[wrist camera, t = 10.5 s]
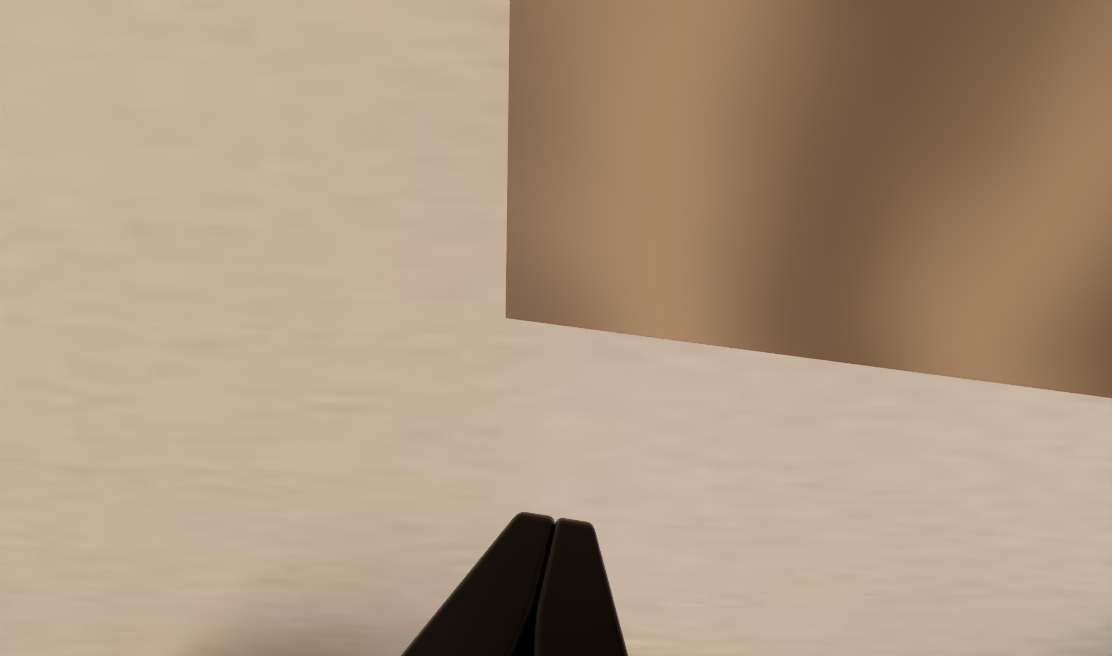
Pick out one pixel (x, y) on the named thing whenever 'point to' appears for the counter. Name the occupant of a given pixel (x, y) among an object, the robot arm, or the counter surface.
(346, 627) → the counter surface
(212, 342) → the counter surface
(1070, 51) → the wooden block
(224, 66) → the counter surface
